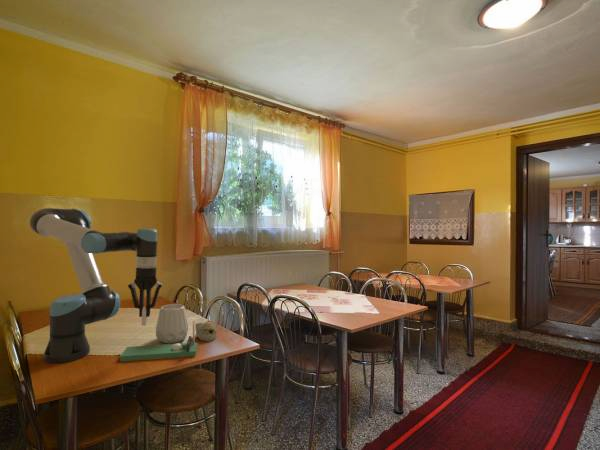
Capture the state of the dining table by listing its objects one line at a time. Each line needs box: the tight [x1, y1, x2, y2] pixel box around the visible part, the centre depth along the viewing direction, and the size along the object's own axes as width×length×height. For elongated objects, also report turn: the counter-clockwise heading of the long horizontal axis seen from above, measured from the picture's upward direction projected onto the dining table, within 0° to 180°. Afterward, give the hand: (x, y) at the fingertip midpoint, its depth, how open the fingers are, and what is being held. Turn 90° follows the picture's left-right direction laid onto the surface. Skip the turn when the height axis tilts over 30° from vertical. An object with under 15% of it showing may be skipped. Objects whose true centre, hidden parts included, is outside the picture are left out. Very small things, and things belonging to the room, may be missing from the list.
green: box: [119, 320, 198, 362], centre depth 138 cm, size 28×10×12 cm, turn 103°
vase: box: [155, 303, 189, 344], centre depth 155 cm, size 14×14×15 cm
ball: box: [172, 342, 182, 351], centre depth 139 cm, size 4×4×4 cm
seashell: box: [195, 321, 217, 342], centre depth 158 cm, size 10×10×10 cm
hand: (144, 324), depth 137 cm, fingers closed
